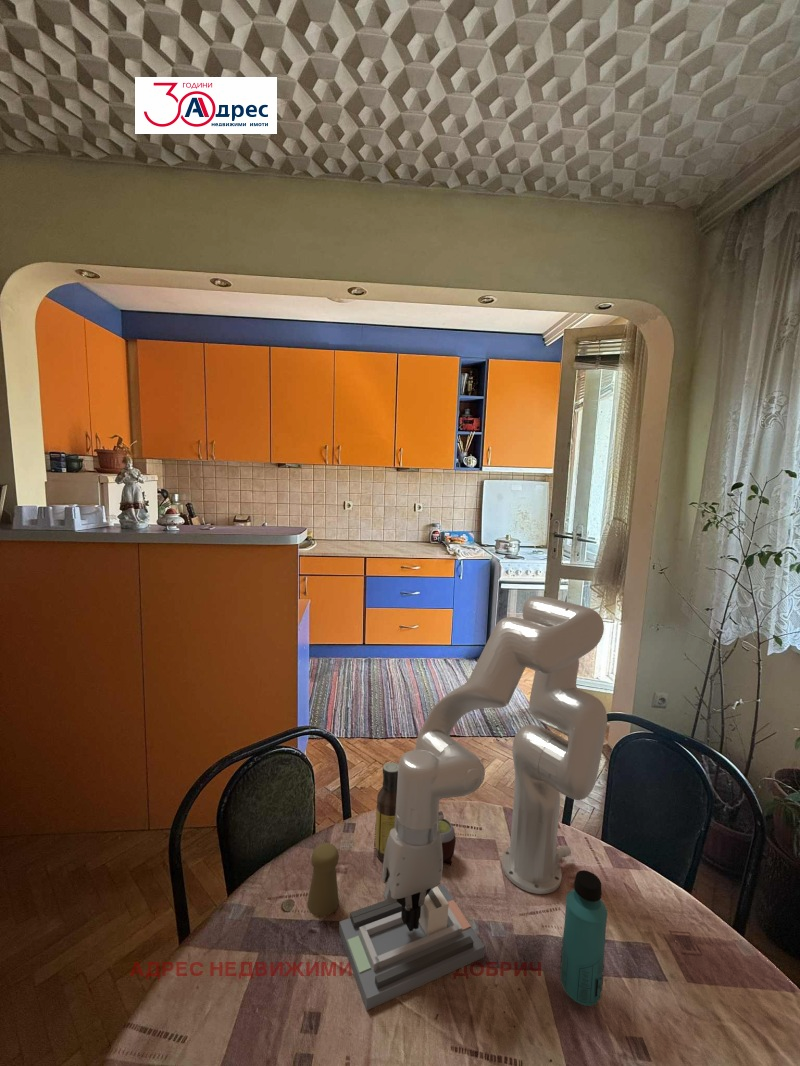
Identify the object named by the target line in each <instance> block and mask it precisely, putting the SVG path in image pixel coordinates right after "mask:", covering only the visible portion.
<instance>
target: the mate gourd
mask: <svg viewBox="0 0 800 1066" xmlns="http://www.w3.org/2000/svg"><path fill="white" fill-rule="evenodd" d="M438 828H439V830H440V835H441V841H442V851H443V865H444V864H445V865H448V866H452V864H453V861H452V859H453V857H454V853H455V849H456V841H457V840H456V831H455V828H454V826H453V825H452V823H451V822H450V821H449V820H447V819H446V818H444V819H443V820H440V821H439V824H438Z"/></svg>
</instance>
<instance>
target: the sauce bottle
mask: <svg viewBox="0 0 800 1066" xmlns="http://www.w3.org/2000/svg"><path fill="white" fill-rule="evenodd" d="M398 765H399V763H397V762H391V761H390V762H386V763H385V764H384V765H383V766H382V775H383V776H382V777H383V778H382V787H381V789H380V790H379V792H378V793H377V796H376V797H377V798H376V815H375V854H376V856H377V857H378V859H379V860H380V861H382V862H383V861H384V855H385V849H386V844H387V840H388V837H389V833H390V831H391V829H393V828H395V814H396V798H397V780H398Z"/></svg>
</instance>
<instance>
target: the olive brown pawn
mask: <svg viewBox="0 0 800 1066" xmlns="http://www.w3.org/2000/svg"><path fill="white" fill-rule="evenodd" d="M339 859H340V855H339V850H338V849H337V847H336V845H334V844H333V843H330V842H323V843H319V844H318V845H317V846H316V847H315V848H314V849H313V851H312V854H311V865H312V868H313V871H312V876H311V882H310V886H309V893H308V897H307V903H306V905H307V909H308V911H309V912H310V914H312V915H313V916H316V917H323V918H324V917H327V916H329V915H331V914H332V913H334V912H335V911H336V910H337V908H338V906H339V900H340V899H339V891H338V890H339V889H338V878H337V869H336V868H337V866H338V862H339Z"/></svg>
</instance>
